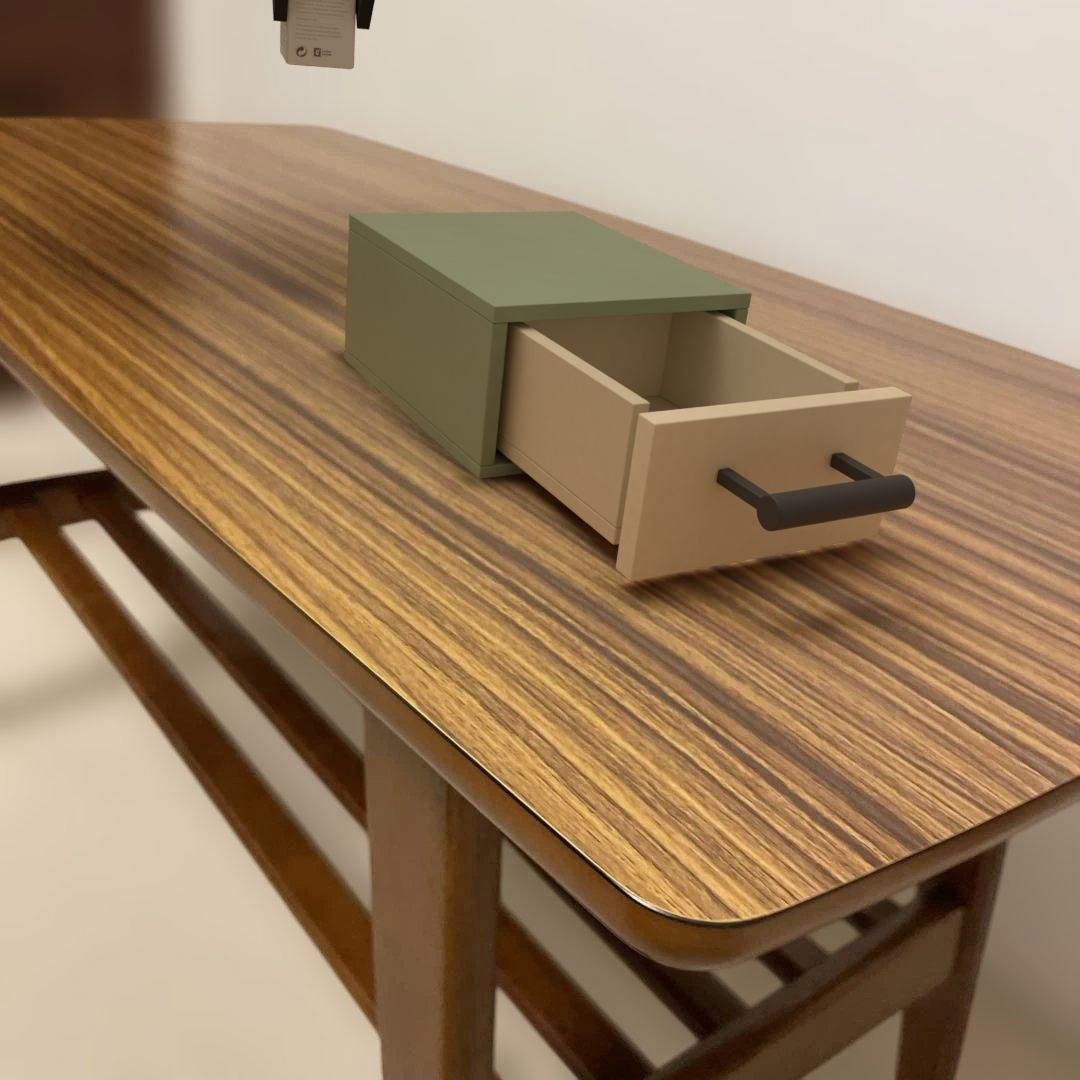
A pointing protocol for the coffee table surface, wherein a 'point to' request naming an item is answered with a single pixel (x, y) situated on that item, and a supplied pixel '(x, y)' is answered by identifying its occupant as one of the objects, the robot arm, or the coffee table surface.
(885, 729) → the coffee table surface
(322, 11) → the cosmetic box
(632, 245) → the cabinet
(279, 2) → the robot arm
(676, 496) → the drawer
